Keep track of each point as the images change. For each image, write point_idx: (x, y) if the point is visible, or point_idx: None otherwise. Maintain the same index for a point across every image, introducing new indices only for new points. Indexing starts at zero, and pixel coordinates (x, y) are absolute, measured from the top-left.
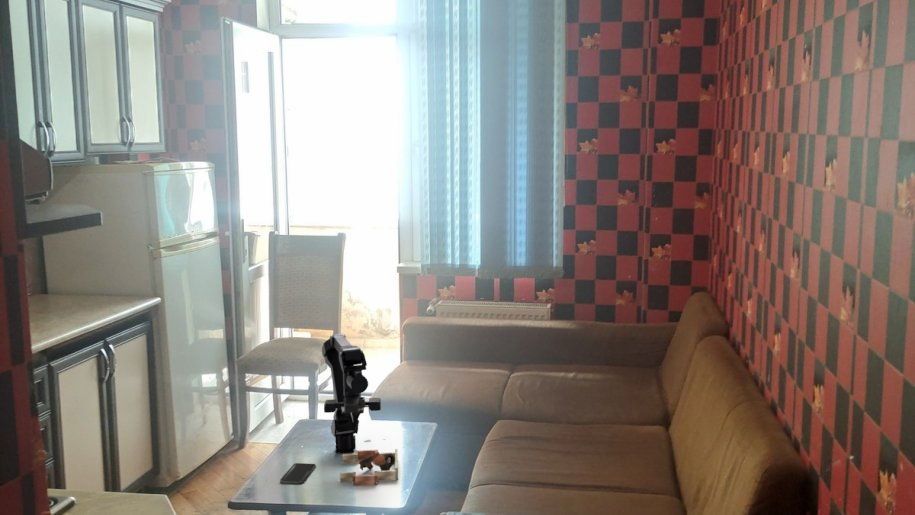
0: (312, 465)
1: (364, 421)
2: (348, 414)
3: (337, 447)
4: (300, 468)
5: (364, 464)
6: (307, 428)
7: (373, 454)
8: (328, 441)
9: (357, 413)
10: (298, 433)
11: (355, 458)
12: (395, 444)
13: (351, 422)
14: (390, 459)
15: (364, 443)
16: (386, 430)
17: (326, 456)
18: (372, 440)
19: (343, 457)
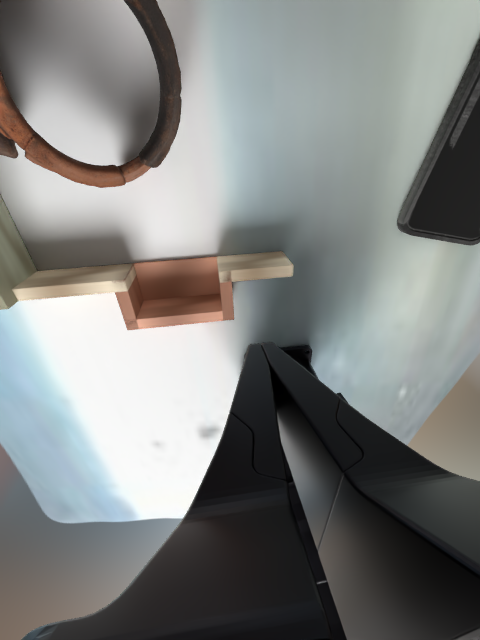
0: (417, 220)
1: None
2: (476, 516)
3: (307, 368)
4: (476, 184)
5: None
6: None
7: (80, 165)
8: None
9: (220, 596)
10: None
11: (228, 263)
12: (106, 416)
13: (305, 391)
14: (56, 273)
15: (216, 416)
16: (166, 484)
17: (342, 323)
18: (194, 434)
19: (286, 261)
